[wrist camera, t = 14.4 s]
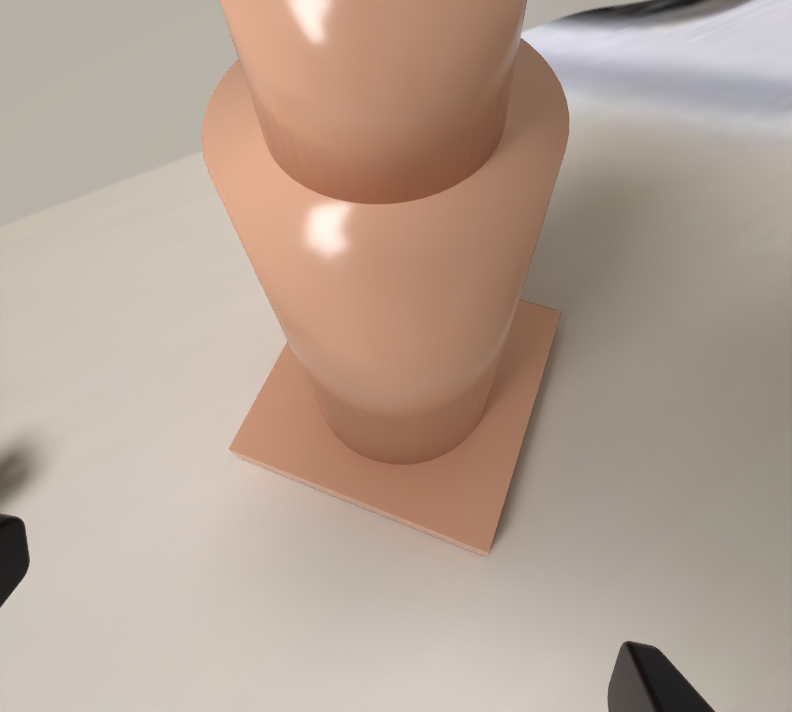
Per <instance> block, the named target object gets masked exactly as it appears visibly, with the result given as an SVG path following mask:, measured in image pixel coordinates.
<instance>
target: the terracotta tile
mask: <svg viewBox="0 0 792 712" xmlns="http://www.w3.org/2000/svg"><path fill="white" fill-rule="evenodd" d="M560 315H561V312H560V311H556V310H553V309H550V308H546V307H543V306H540V305H536V304H533V303H529V302H526V301H523V300H519V301H518V305H517V308H516V311H515V314H514V317H513V321H512V324H511V327H510V330H509V334H508V337H507V340H506V343H505V346H504V350H503V353H502V356H501V359H500V363H499V366H498V369H497V372H496V375H495V379H494V382H493V385H492V388H491V392H490V395H489V398H488V401H487V404H486V407H485V410H484V413H483V415H482V417H481V419H480V421H479V423H478V424H477V426H476V428H475V429H474V430H473V431H472V433H471V434H470V435H469V436H468V437H467V438H466V439H465V440H464V441H463V442H462V443H461V444H460V445H458V446H457V447H456V448H454V449H453V450H452V451H450V452H448V453H446V454H444V455H443V456H440V457H438V458H435V459H433V460H430V461H426V462H422V463H417V464H409V465H394V464H387V463H382V462H378V461H375V460H371V459H369V458H366V457H364V456H362V455H360V454H358V453H356V452H355V451H353V450H351V449H350V448H349V447H347V446H346V445H345V444H344V443H342V442H341V441H340V440H339V438H338V437H337V436H336V435H335V434H334V433H333V432H332V430H331V429H330V427H329V426H328V424H327V422H326V420H325V419H324V417H323V415H322V412H321V410H320V408H319V406H318V404H317V402H316V400H315V398H314V395H313V393H312V391H311V389H310V387H309V385H308V383H307V381H306V378H305V376H304V374H303V372H302V370H301V368H300V366H299V364H298V362H297V359H296V357H295V355H294V353H293V351H292V349H291V347H290V345H289V342H288V341H287V343H286V345H285V347H284V349H283V351H282V352H281V354H280V356H279V358H278V360H277V362H276V363H275V365H274V367H273V369H272V371H271V373H270V374H269V376H268V378H267V380H266V382H265V383H264V385H263V387H262V389H261V391H260V393H259V394H258V396H257V398H256V400H255V402H254V404H253V405H252V407H251V409H250V411H249V413H248V415H247V416H246V418H245V420H244V422H243V424H242V426H241V427H240V429H239V431H238V433H237V435H236V437H235V438H234V440H233V442H232V444H231V446H230V447H229V450H230V451H231V452H232V453H234V454H235V455H236V456H237V457H238V458H240V459H243V460H245V461H248V462H250V463H253V464H255V465H258V466H260V467H263V468H265V469H268V470H270V471H273V472H275V473H278V474H280V475H283V476H285V477H288V478H290V479H293V480H295V481H298V482H300V483H303V484H305V485H308V486H310V487H313V488H315V489H318V490H320V491H323V492H325V493H328V494H330V495H333V496H335V497H338V498H340V499H343V500H345V501H347V502H350V503H352V504H355V505H357V506H360V507H362V508H365V509H367V510H370V511H372V512H375V513H377V514H380V515H382V516H385V517H387V518H390V519H392V520H395V521H397V522H400V523H402V524H405V525H407V526H410V527H412V528H415V529H417V530H420V531H422V532H425V533H427V534H430V535H432V536H435V537H437V538H440V539H442V540H445V541H447V542H450V543H452V544H455V545H457V546H460V547H462V548H465V549H467V550H470V551H472V552H474V553H477V554H479V555H482V556H484V557H486V556H487V555H488V553H489V551H490V548H491V545H492V541H493V538H494V535H495V531H496V528H497V525H498V521H499V518H500V515H501V511H502V508H503V505H504V501H505V498H506V495H507V491H508V488H509V485H510V481H511V478H512V475H513V472H514V468H515V465H516V462H517V458H518V455H519V452H520V448H521V445H522V442H523V438H524V435H525V432H526V428H527V425H528V422H529V418H530V415H531V412H532V408H533V405H534V402H535V398H536V395H537V392H538V388H539V385H540V382H541V378H542V375H543V372H544V368H545V365H546V362H547V358H548V355H549V352H550V349H551V345H552V342H553V339H554V335H555V332H556V329H557V325H558V322H559V319H560Z"/></svg>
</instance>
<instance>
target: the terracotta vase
mask: <svg viewBox="0 0 792 712" xmlns="http://www.w3.org/2000/svg"><path fill="white" fill-rule="evenodd" d="M220 3H221V6H222V9H223V12H224V15H225V19H226V22H227V25H228V28H229V31H230V34H231V37H232V40H233V43H234V46H235V49H236V53H237V56H238V60H237V61H236V62H235V63H234V64H233V65H232V66H231V68H230V69H229V70H228V71H227V72H226V73H225V75H224V76H223V78H222V79H221V81H220V82H219V84H218V85H217V87H216V88H215V90H214V92H213V94H212V96H211V98H210V101H209V103H208V105H207V108H206V112H205V116H204V120H203V127H202V148H203V156H204V160H205V163H206V166H207V169H208V173H209V175H210V177H211V179H212V181H213V183H214V185H215V188H216V190H217V192H218V194H219V196H220V198H221V200H222V202H223V205H224V207H225V209H226V211H227V213H228V215H229V217H230V219H231V221H232V224H233V226H234V228H235V230H236V232H237V234H238V236H239V238H240V241H241V243H242V245H243V247H244V249H245V251H246V253H247V255H248V258H249V260H250V262H251V264H252V266H253V268H254V270H255V272H256V275H257V277H258V279H259V281H260V283H261V285H262V287H263V289H264V292H265V294H266V296H267V298H268V300H269V302H270V304H271V306H272V308H273V311H274V313H275V315H276V317H277V319H278V321H279V323H280V325H281V328H282V330H283V332H284V334H285V336H286V338H287V340H288V342H289V345H290V347H291V349H292V351H293V353H294V355H295V357H296V359H297V362H298V364H299V366H300V368H301V370H302V372H303V374H304V376H305V378H306V381H307V383H308V385H309V387H310V389H311V391H312V393H313V395H314V398H315V400H316V402H317V404H318V406H319V408H320V410H321V412H322V415H323V417H324V419H325V420H326V422H327V424H328V426H329V427H330V429H331V430H332V432H333V433H334V434H335V435H336V436H337V437H338V438H339V440H340V441H341V442H342V443H344V444H345V445H346V446H347V447H349V448H350V449H351V450H353V451H355V452H356V453H358V454H360V455H362V456H364V457H366V458H369V459H371V460H375V461H378V462H382V463H387V464H394V465H409V464H417V463H422V462H426V461H430V460H433V459H435V458H438V457H440V456H443V455H444V454H446V453H448V452H450V451H452V450H453V449H454V448H456V447H457V446H458V445H460V444H461V443H462V442H463V441H464V440H465V439H466V438H467V437H468V436H469V435H470V434H471V433H472V431H473V430H474V429H475V428H476V426H477V424H478V423H479V421H480V419H481V417H482V415H483V413H484V410H485V407H486V404H487V401H488V398H489V395H490V392H491V388H492V385H493V382H494V379H495V375H496V372H497V369H498V366H499V363H500V359H501V356H502V353H503V350H504V346H505V343H506V340H507V337H508V334H509V330H510V327H511V324H512V321H513V317H514V314H515V311H516V308H517V305H518V301H519V298H520V295H521V292H522V288H523V285H524V282H525V279H526V276H527V272H528V269H529V266H530V263H531V259H532V256H533V253H534V250H535V247H536V243H537V240H538V237H539V234H540V230H541V227H542V224H543V221H544V218H545V214H546V211H547V208H548V205H549V201H550V198H551V195H552V192H553V189H554V185H555V182H556V179H557V176H558V173H559V169H560V166H561V163H562V160H563V156H564V153H565V149H566V145H567V140H568V135H569V112H568V106H567V100H566V97H565V95H564V92H563V89H562V86H561V84H560V82H559V80H558V78H557V77H556V75H555V73H554V72H553V70H552V68H551V67H550V66H549V65H548V63H547V62H546V61H545V60H544V58H543V57H542V56H541V55H540V54H539V53H538V52H537V51H536V50H535V49H534V48H533V47H532V46H530V45H529V44H528V43H527V42H526V41H524V40H523V39H522V38H520V37H521V32H522V25H523V20H524V14H525V9H526V3H527V0H220Z"/></svg>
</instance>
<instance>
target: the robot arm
mask: <svg viewBox="0 0 792 712" xmlns="http://www.w3.org/2000/svg"><path fill="white" fill-rule="evenodd" d="M29 563H30V558H29V551H28V543H27V536H26V529H25V524H24V522H23V521H22V519H20V518H19V517H16V516H11V515H6V514H1V513H0V607H1V606H2V605H3V603H4V602H5V601H6V600H7V598H8V597H9V596H10V595H11V593H12V592H13V591H14V589H15V588H16V587H17V586H18V584H19V583H20V582H21V580H22V579H23V578H24V576H25V574H26V573H27V570H28V567H29ZM608 710H609V712H715V711H714V710H713V709H712V708H711V706H710V705H709V704H708V703H707V702H706V701H705V700H704V699H703V698H702V696H701V695H700V694H699V693H698V692H697V691H696V690H695V689H694V687H693V686H692V685H691V684H690V683H689V682H688V681H687V680H686V679H685V677H684V676H683V675H682V674H681V673H680V672H679V671H678V670H677V669H676V667H675V666H674V665H673V664H672V663H671V662H670V661H669V660H668V659H667V657H666V656H665V655H664V654H663V653H662V652H661V651H660V650H659V649H658V648H656V647H654V646H652V645H647V644H642V643H637V642H632V641H626V642H624V643H623V644H622V646H621V648H620V650H619V654H618V657H617V660H616V663H615V667H614V670H613V673H612V676H611V680H610V683H609V688H608Z"/></svg>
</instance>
